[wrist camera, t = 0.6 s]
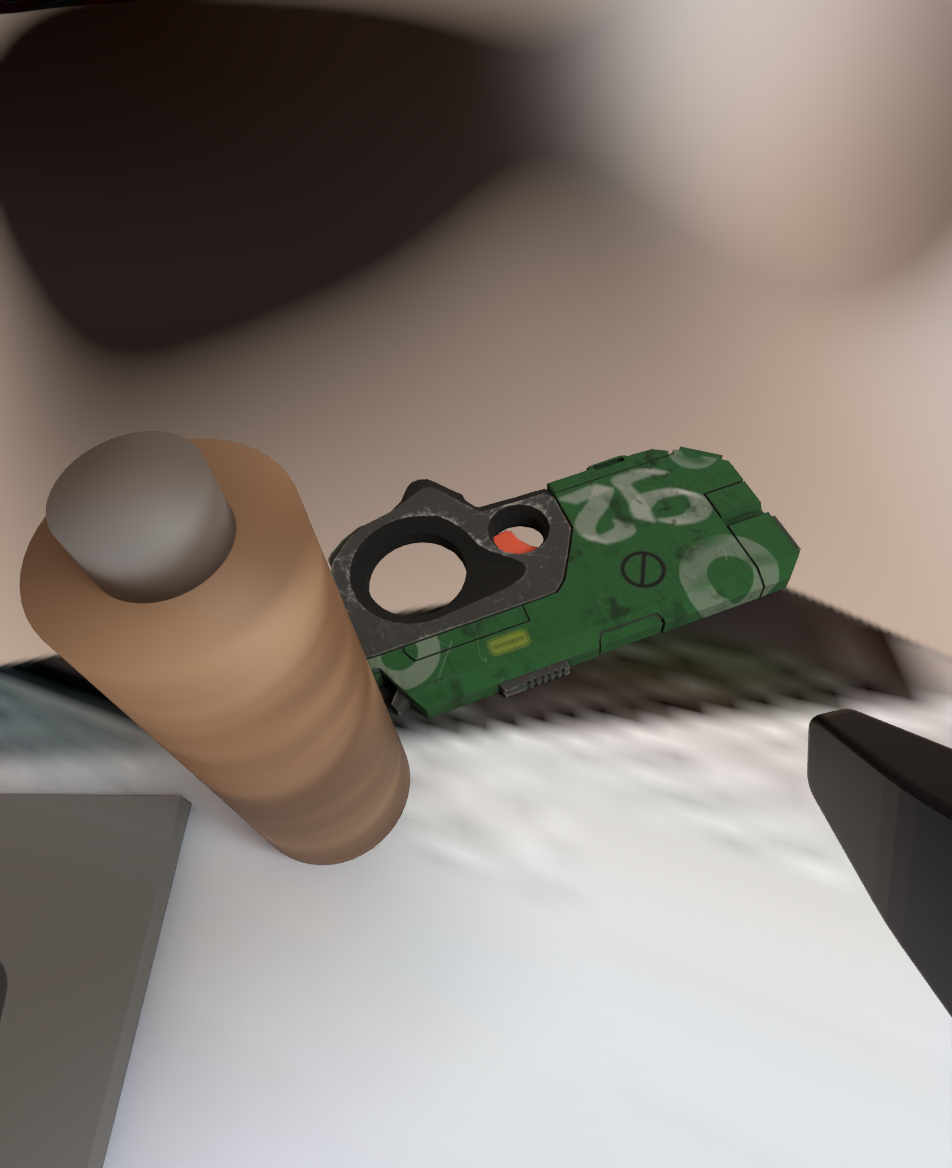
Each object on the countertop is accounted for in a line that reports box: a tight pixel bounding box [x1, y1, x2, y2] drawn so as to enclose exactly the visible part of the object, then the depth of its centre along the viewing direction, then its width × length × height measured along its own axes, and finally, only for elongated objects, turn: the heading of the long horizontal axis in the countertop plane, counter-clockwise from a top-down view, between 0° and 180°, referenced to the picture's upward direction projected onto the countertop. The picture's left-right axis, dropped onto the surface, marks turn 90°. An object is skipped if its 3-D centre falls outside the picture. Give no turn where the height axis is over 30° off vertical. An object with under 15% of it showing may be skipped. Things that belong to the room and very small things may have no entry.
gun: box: [328, 447, 800, 718], centre depth 28 cm, size 16×2×10 cm
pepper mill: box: [20, 431, 410, 865], centre depth 18 cm, size 5×5×14 cm
